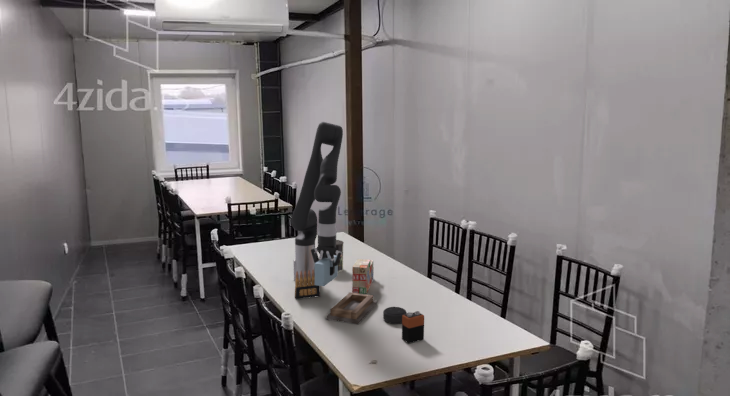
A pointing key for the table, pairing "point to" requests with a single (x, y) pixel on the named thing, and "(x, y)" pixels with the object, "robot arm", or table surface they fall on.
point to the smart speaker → (394, 314)
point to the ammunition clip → (306, 286)
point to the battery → (413, 327)
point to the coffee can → (340, 248)
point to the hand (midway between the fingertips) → (326, 274)
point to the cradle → (352, 308)
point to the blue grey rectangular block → (324, 272)
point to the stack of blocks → (362, 276)
